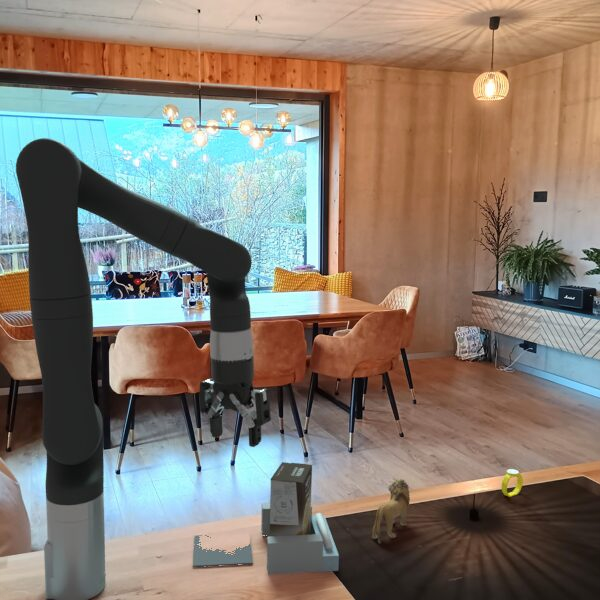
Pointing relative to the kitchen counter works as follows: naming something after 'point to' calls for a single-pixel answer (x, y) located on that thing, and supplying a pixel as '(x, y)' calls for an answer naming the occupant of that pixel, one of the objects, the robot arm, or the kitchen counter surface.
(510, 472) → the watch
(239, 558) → the mat
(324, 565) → the vise
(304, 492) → the coffee box
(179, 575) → the kitchen counter surface
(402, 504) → the lion figurine
